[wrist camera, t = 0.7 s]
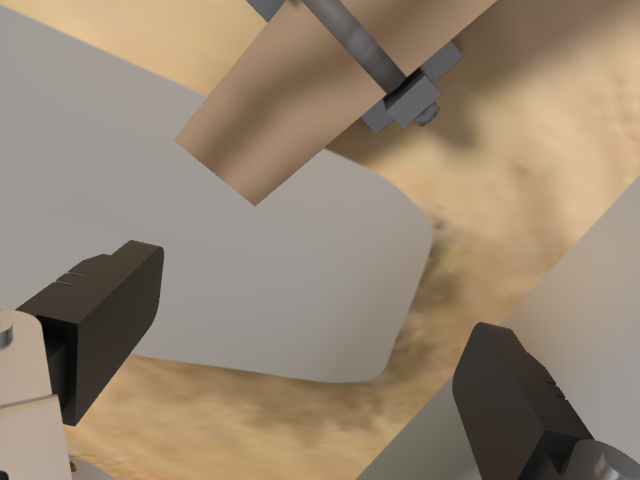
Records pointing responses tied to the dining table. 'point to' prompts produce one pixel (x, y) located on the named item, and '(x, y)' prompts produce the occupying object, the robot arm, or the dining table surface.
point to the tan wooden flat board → (313, 82)
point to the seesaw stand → (407, 99)
